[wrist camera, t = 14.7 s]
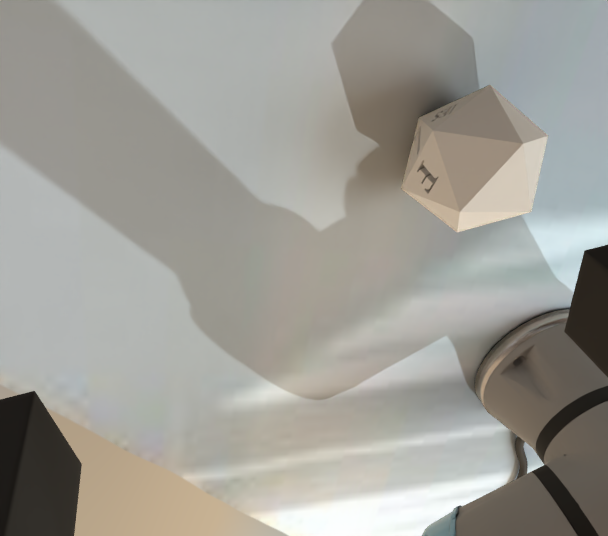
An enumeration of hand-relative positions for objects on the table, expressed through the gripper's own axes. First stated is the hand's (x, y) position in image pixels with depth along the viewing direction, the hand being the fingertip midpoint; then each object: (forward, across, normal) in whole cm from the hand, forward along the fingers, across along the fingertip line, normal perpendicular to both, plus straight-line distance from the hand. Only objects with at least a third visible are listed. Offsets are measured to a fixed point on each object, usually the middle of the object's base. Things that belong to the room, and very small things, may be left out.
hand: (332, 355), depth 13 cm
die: (+25, -15, +8) cm, 30 cm away
